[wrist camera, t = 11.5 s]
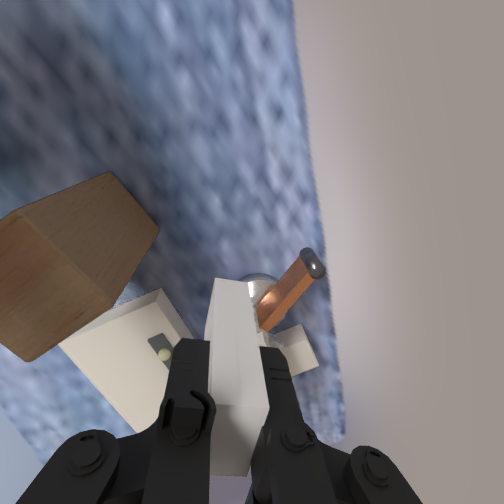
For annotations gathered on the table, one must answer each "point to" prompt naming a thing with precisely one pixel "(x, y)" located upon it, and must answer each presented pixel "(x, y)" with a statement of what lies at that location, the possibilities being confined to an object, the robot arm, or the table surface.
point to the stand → (150, 354)
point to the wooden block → (67, 262)
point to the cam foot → (281, 292)
